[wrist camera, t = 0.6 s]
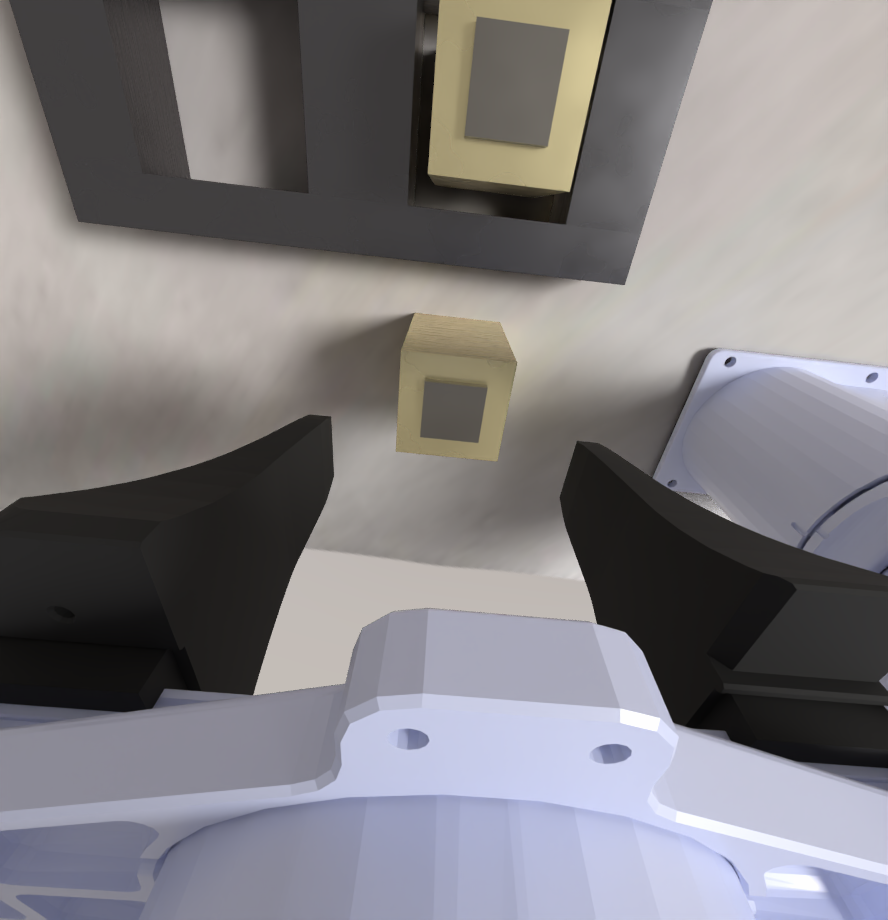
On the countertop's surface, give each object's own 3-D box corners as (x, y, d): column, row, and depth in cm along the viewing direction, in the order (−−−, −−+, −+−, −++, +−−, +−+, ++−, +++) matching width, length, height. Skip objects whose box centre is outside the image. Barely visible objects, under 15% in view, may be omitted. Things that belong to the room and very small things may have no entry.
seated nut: (558, 64, 15) (619, -22, 9) (533, 197, 17) (572, 191, 11) (445, 49, 14) (442, -47, 9) (435, 185, 16) (427, 173, 11)
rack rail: (683, -26, 13) (737, -82, 11) (600, 274, 18) (624, 285, 15) (49, -118, 13) (-55, -203, 10) (134, 219, 17) (78, 221, 15)
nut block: (499, 322, 19) (518, 365, 14) (486, 401, 21) (497, 465, 16) (414, 312, 19) (399, 353, 14) (409, 393, 21) (394, 455, 16)
